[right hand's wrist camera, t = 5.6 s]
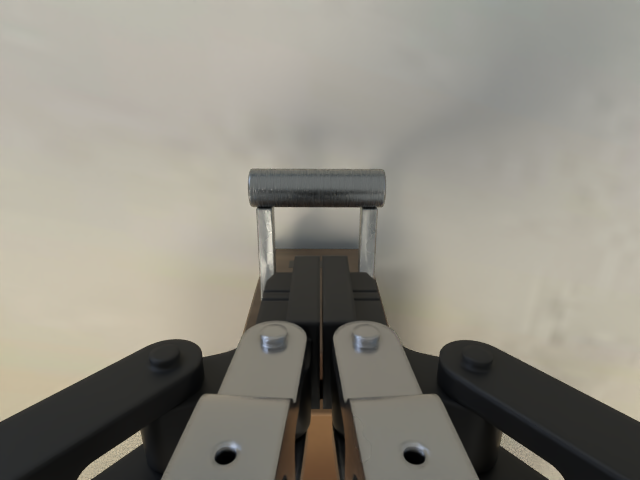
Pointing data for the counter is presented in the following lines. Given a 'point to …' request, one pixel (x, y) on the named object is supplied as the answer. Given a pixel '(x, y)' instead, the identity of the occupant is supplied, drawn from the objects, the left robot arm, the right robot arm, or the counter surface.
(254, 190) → the drawer
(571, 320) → the counter surface
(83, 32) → the counter surface
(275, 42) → the counter surface
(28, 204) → the counter surface
